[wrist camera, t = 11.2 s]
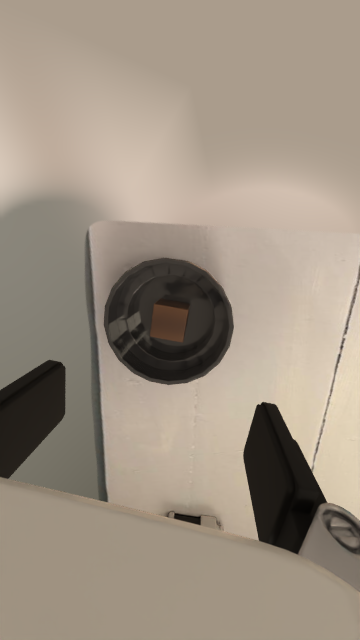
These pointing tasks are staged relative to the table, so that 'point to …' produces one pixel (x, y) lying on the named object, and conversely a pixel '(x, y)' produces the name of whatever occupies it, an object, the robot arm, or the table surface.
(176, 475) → the table surface
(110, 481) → the table surface
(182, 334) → the block
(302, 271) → the table surface
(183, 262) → the shallow round bowl
